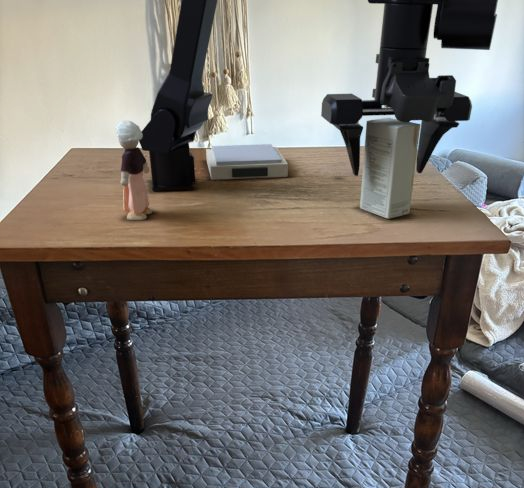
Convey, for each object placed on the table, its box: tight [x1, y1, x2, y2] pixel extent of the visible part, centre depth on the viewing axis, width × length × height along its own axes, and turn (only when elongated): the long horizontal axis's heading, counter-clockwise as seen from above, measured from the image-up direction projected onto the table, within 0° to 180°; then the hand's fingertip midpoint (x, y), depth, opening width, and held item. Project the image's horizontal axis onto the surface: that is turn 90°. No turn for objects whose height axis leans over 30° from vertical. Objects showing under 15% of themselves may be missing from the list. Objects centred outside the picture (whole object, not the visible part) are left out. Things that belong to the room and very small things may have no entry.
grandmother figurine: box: [115, 119, 153, 221], centre depth 75 cm, size 8×4×13 cm, turn 178°
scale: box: [205, 143, 289, 181], centre depth 98 cm, size 13×12×3 cm
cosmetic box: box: [359, 117, 421, 219], centre depth 78 cm, size 6×4×12 cm
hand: (387, 173), depth 78 cm, fingers open, 9 cm apart
